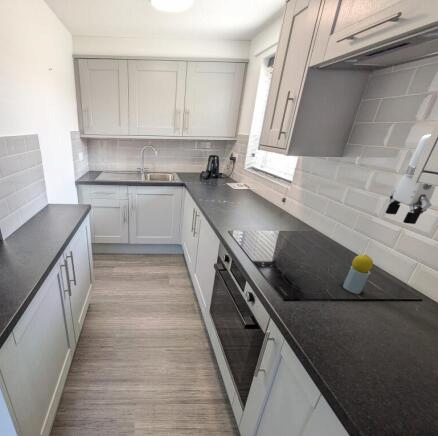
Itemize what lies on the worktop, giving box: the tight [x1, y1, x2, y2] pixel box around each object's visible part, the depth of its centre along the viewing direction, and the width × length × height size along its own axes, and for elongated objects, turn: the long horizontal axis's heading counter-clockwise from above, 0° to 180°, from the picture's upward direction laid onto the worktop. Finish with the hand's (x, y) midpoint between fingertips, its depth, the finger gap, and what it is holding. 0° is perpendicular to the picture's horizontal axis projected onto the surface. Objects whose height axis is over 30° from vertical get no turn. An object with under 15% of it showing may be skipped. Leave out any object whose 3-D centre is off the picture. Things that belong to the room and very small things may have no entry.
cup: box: [342, 265, 371, 295], centre depth 89 cm, size 6×6×9 cm
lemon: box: [351, 254, 374, 273], centre depth 86 cm, size 6×6×8 cm
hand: (399, 218), depth 86 cm, fingers open, 9 cm apart
